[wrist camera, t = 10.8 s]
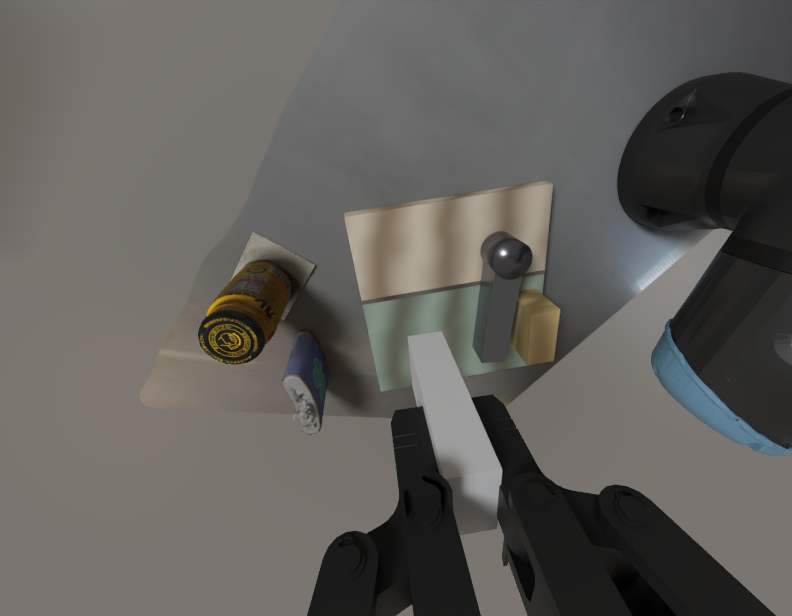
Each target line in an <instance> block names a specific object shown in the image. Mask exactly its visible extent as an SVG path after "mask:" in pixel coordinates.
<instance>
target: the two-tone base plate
mask: <svg viewBox="0 0 792 616" xmlns="http://www.w3.org/2000/svg"><path fill="white" fill-rule="evenodd" d="M552 191H553V183H550V182H546V181H540V182H534V183H528V184H521V185H515V186H509V187H503V188H496V189H490V190H484V191H478V192H472V193H465V194H459V195H453V196H447V197H440V198H434V199H428V200H422V201H416V202H409V203H403V204H397V205H391V206H384V207H378V208H372V209H366V210H359V211H353V212H347V213H345V215H344V218H345V223H346V228H347V233H348V237H349V242H350V247H351V252H352V257H353V261H354V266H355V271H356V276H357V280H358V285H359V290H360V295H361V300H362V305H363V309H364V314H365V319H366V323H367V328H368V333H369V338H370V343H371V347H372V352H373V357H374V362H375V366H376V371H377V376H378V381H379V386H380V390H381V391H387V390H393V389H398V388H404V387H409V386H412V377H411V367H410V357H409V346H408V336H413V335H420V334H427V333H434V332H440V331H442V333H443V335H444V337H445V340H446V342H447V344H448V347H449V349H450V351H451V353H452V356H453V358H454V360H455V363H456V365H457V367H458V369H459V372H460V374H461V376H462V377H465V376H471V375H476V374H482V373H488V372H493V371H499V370H504V369H510V368H515V367H521V366H529V365H534V364H540V363H545V362H551V361H554V355H555V347H556V339H557V332H558V324H559V316H560V309H559V308H558V307H557V306H556V305H555V304H553V303H552V302H551V301H550V300H549V299H547V298H546V297H545V296H544V295H543V284H544V274H545V264H546V253H547V243H548V233H549V222H550V212H551V201H552ZM498 231H504V232H507V233H509V234H511V235H512V236H514V237H515V238H517V239H519V240H520V241H522V242H523V243H525V244H526V245H528V246H529V247H530V249H531V251H532V255H533V259H532V263H531V266H530V268H529V269H528V270H527V272H526V273H525V274H523V275H522V279H521V284H520V289H519V294H518V299H517V305H516V310H515V315H514V320H513V326H512V331H511V336H510V341H509V346H508V352H507V357H506V361H504V362H491V363H481V361H480V359H479V358H478V356H477V354H476V352H475V350H474V348H473V347H472V346H473V338H474V330H475V322H476V315H477V307H478V299H479V291H480V283H481V275H482V268H483V260H482V258H481V254H480V249H481V246H482V243H483V242H484V240H485V239H486V238H487V237H488V236H489V235H491V234H492V233H495V232H498Z"/></svg>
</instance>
